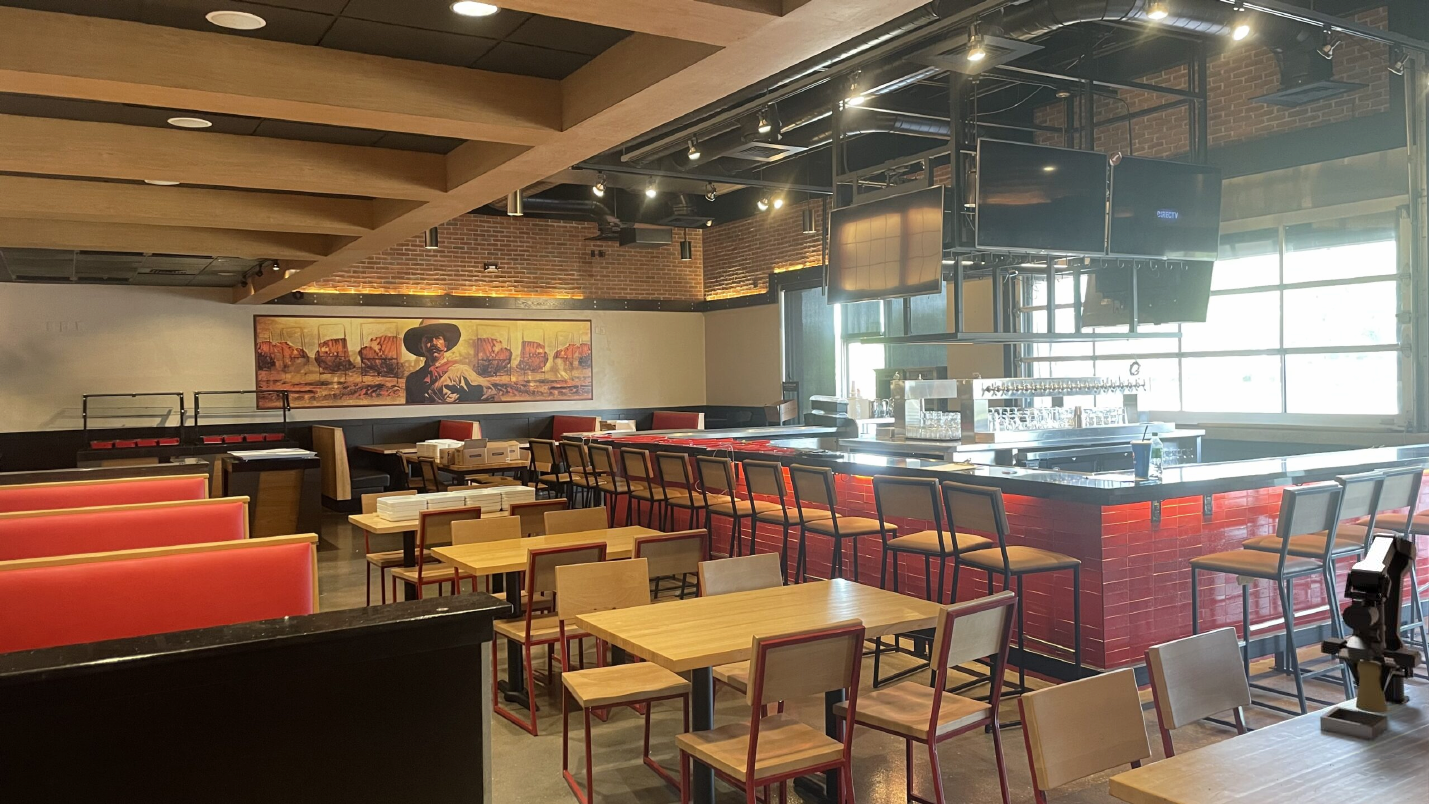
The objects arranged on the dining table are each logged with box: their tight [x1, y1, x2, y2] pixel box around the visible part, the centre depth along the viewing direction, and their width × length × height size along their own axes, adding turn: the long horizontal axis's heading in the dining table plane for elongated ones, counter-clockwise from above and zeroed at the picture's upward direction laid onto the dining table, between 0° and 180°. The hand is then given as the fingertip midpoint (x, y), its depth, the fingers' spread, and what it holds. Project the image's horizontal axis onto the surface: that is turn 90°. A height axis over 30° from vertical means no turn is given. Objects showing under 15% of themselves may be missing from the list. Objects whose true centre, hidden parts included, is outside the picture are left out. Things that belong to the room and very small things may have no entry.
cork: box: [1355, 660, 1388, 714], centre depth 225 cm, size 6×6×11 cm
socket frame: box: [1319, 705, 1388, 742], centre depth 217 cm, size 10×10×3 cm
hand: (1370, 688), depth 225 cm, fingers closed on cork, 4 cm apart
